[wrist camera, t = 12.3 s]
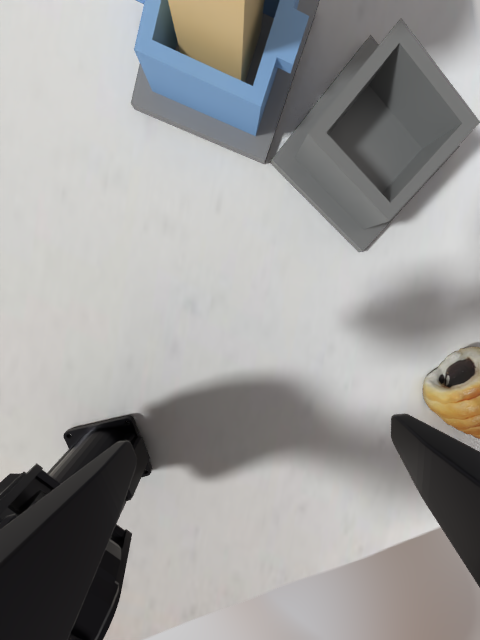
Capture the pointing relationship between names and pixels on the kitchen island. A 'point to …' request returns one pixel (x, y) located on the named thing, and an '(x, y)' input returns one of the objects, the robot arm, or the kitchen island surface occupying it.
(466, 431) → the pastry
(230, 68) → the tall tan pillar
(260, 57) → the blue bezel socket
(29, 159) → the kitchen island surface
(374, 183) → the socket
